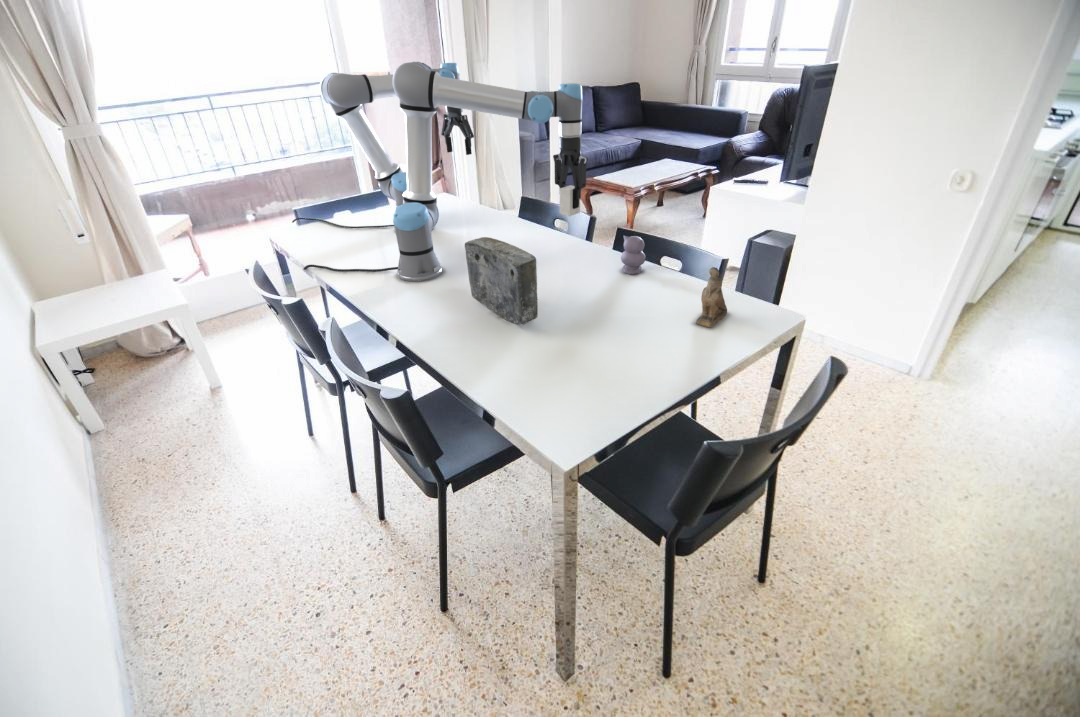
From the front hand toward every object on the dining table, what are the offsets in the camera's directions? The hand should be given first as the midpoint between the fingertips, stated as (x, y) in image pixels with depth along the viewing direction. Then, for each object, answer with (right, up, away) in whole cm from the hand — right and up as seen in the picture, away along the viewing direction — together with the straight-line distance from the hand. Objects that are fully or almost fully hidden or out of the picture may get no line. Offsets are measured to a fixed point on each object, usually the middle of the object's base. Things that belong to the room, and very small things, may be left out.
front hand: (569, 206), depth 178 cm
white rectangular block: (0, -2, +1) cm, 3 cm away
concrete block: (-21, -42, -32) cm, 57 cm away
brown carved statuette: (+37, -43, -39) cm, 69 cm away
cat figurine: (+21, -24, -6) cm, 33 cm away
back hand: (-49, +42, +55) cm, 85 cm away
